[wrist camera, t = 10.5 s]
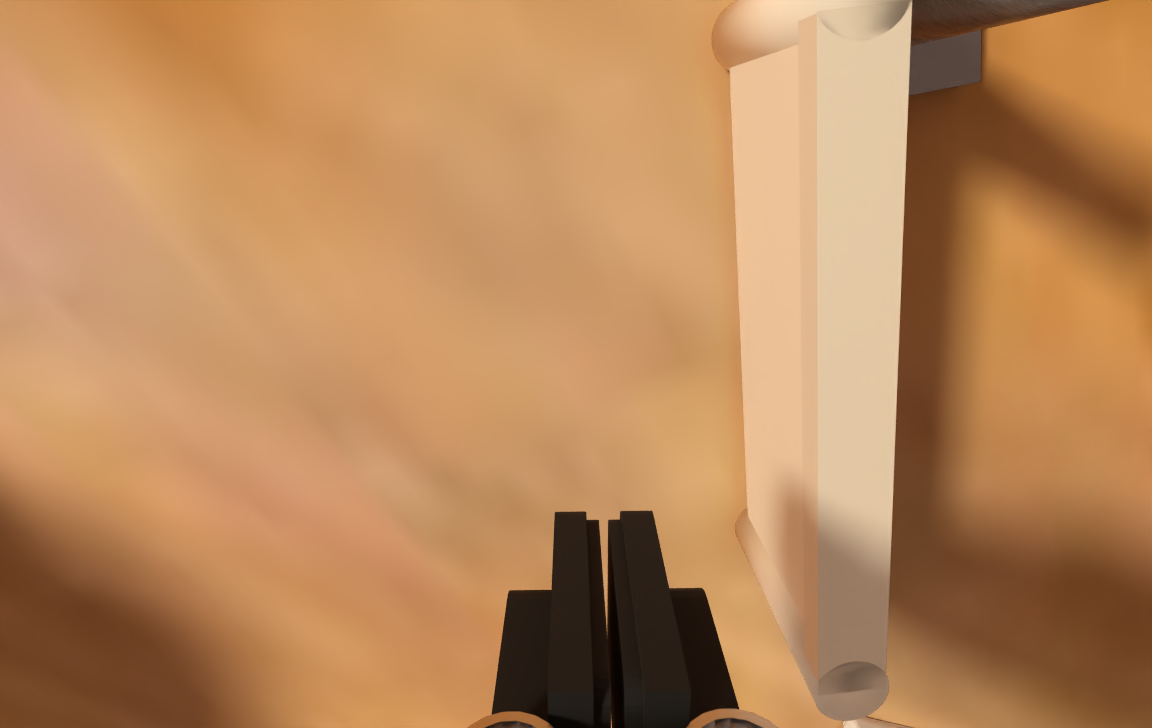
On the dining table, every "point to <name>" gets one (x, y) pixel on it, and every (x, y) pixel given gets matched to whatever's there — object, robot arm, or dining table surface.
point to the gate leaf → (820, 320)
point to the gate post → (963, 36)
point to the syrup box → (870, 724)
